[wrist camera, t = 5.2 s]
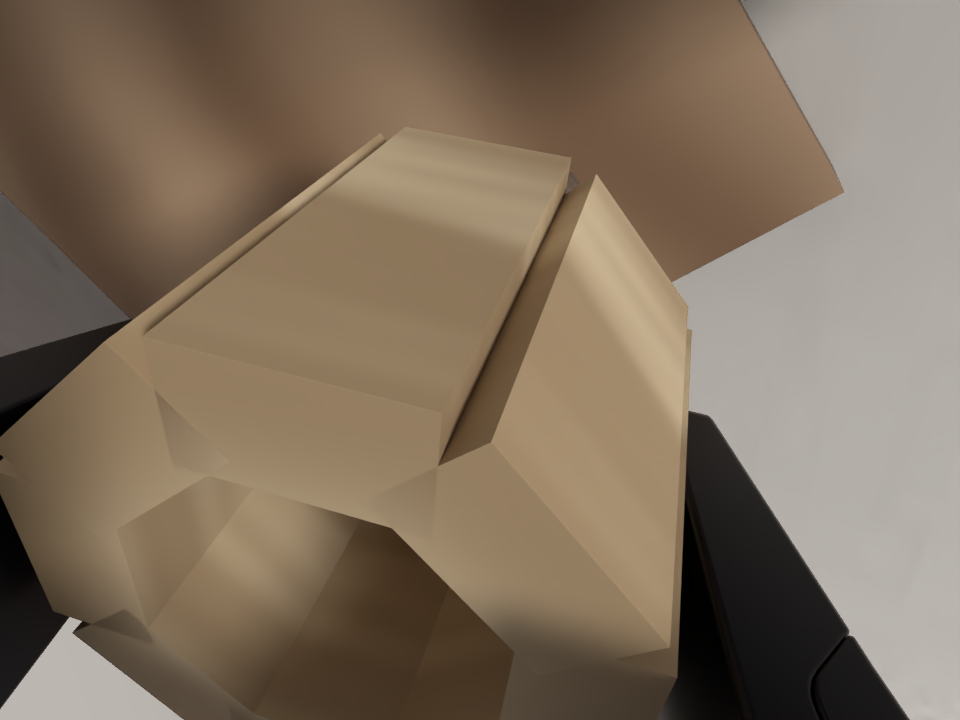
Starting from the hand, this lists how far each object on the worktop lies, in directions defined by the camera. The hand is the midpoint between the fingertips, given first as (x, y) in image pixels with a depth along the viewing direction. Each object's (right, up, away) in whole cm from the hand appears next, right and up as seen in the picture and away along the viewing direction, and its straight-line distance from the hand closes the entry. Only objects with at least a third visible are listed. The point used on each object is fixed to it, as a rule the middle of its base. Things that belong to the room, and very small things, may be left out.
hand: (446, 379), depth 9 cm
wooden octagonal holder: (0, +1, +1) cm, 1 cm away
